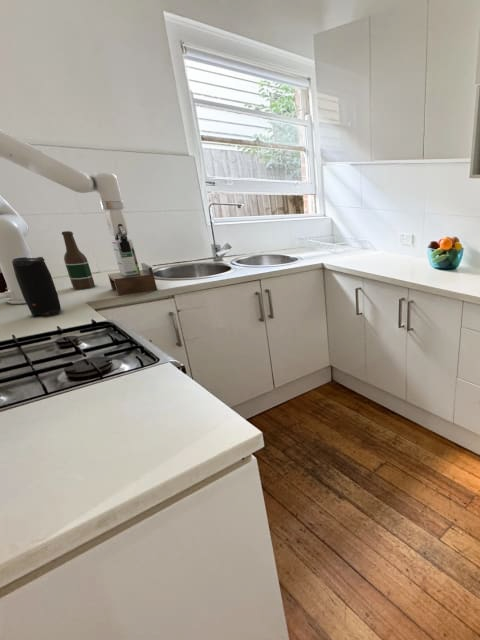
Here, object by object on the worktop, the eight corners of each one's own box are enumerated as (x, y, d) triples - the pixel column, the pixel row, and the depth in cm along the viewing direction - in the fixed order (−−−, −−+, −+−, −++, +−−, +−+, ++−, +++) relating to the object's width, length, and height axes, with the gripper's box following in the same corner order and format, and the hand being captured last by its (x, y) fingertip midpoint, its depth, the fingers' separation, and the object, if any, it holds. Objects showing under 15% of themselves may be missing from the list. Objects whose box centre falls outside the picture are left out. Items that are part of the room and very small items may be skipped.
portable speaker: (44, 318, 130) (23, 261, 122) (23, 316, 132) (1, 259, 124) (70, 311, 138) (51, 257, 130) (50, 309, 140) (31, 255, 132)
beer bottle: (99, 286, 172) (83, 231, 162) (81, 290, 165) (63, 233, 156) (86, 284, 173) (69, 230, 164) (68, 288, 166) (49, 232, 157)
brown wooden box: (118, 295, 158) (112, 271, 154) (112, 289, 166) (105, 266, 163) (157, 290, 167) (151, 267, 164) (149, 284, 176) (144, 263, 172)
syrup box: (125, 276, 161) (115, 241, 155) (120, 274, 164) (110, 239, 158) (140, 274, 165) (132, 239, 159) (135, 272, 168) (126, 238, 163)
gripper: (97, 205, 157) (109, 249, 164) (105, 207, 146) (118, 254, 152) (119, 205, 162) (130, 247, 169) (129, 207, 151) (140, 252, 157)
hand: (124, 250), depth 160 cm, fingers open, 7 cm apart
